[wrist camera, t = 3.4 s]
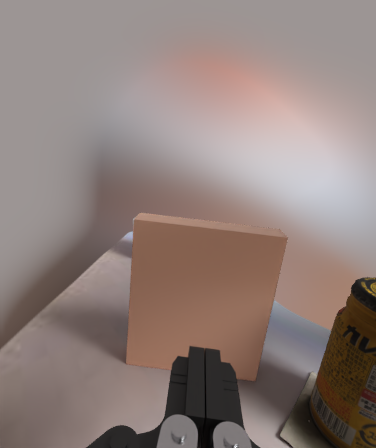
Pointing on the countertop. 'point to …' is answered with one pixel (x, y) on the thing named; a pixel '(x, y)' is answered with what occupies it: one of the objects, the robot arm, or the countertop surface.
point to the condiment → (342, 382)
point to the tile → (201, 290)
